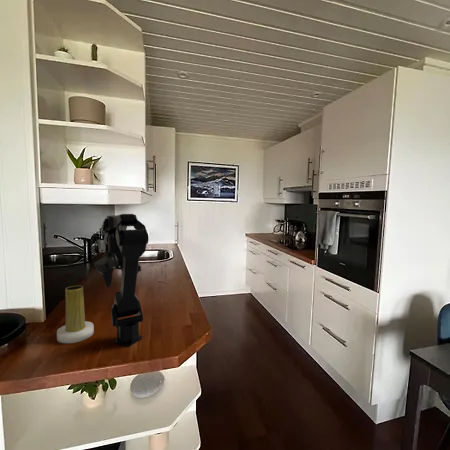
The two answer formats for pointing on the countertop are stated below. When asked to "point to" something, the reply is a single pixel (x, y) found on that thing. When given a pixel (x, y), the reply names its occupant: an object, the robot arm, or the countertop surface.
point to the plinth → (75, 334)
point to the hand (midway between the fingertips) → (117, 288)
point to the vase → (74, 309)
